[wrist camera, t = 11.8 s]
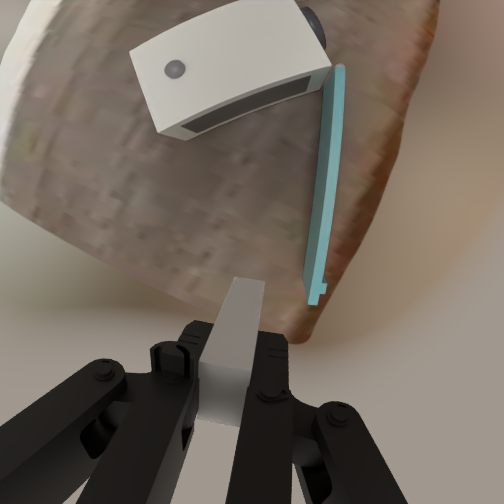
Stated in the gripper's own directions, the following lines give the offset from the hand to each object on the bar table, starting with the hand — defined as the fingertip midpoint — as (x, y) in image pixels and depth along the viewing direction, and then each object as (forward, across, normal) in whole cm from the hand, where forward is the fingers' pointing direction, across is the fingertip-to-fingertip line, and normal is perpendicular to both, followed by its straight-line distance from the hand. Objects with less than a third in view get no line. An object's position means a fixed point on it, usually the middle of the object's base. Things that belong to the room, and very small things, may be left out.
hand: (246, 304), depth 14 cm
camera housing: (+23, -6, +18) cm, 30 cm away
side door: (+22, +6, +6) cm, 23 cm away
